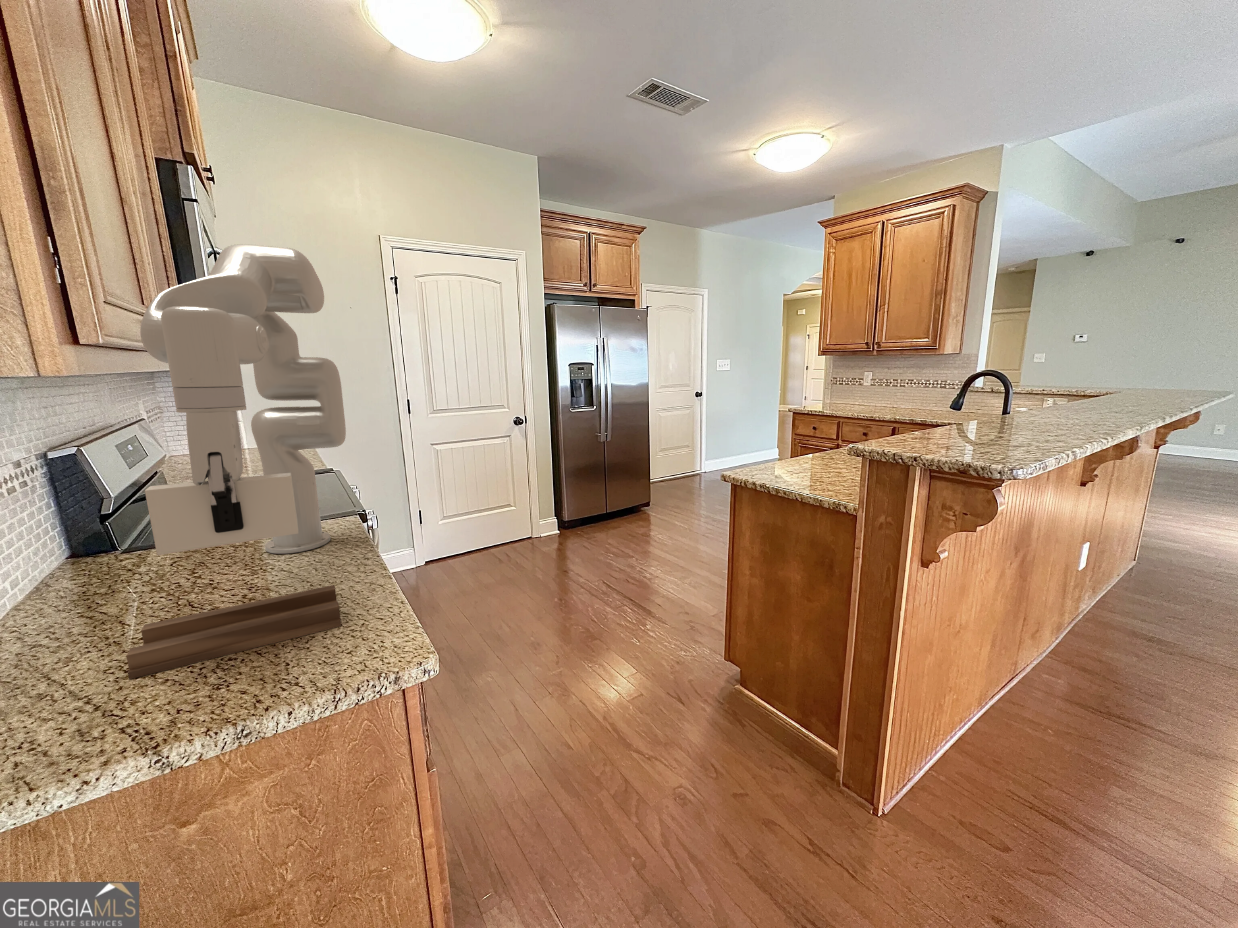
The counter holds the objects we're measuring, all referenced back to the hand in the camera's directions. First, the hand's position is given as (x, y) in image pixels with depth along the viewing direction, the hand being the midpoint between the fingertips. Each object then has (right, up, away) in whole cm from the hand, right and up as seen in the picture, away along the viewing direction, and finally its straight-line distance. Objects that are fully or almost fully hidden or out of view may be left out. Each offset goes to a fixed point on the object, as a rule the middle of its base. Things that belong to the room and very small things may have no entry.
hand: (231, 526), depth 70 cm
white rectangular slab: (0, -2, 0) cm, 2 cm away
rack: (0, -17, +3) cm, 17 cm away
